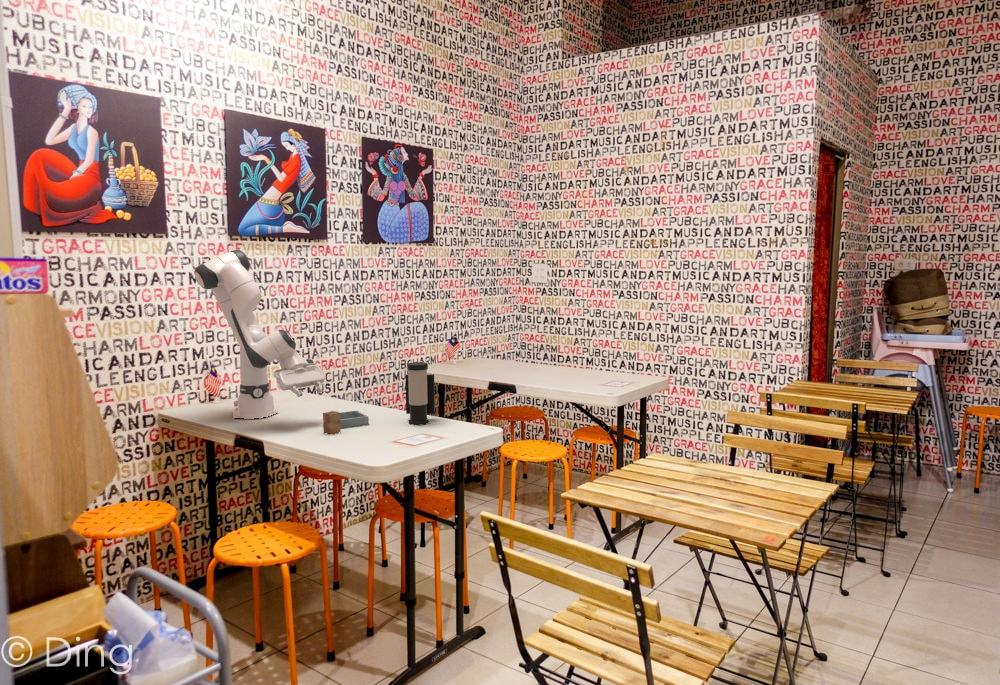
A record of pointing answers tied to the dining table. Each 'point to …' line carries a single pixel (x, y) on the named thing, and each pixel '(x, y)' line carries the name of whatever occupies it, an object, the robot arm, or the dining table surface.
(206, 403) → the dining table surface
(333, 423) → the walnut block
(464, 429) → the dining table surface
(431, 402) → the light fixture
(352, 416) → the tray
